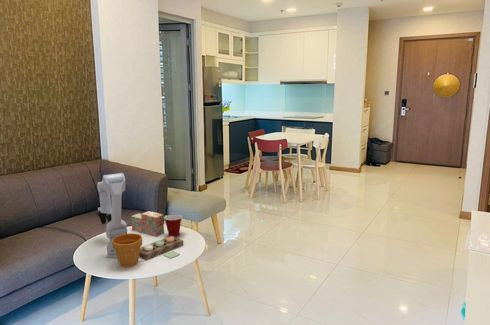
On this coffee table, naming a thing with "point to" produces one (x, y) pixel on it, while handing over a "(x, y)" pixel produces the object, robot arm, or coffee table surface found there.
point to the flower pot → (127, 248)
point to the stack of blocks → (148, 223)
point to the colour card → (171, 254)
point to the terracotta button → (170, 239)
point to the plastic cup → (173, 224)
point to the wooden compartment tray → (160, 248)
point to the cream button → (148, 248)
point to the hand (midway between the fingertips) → (107, 225)
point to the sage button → (159, 243)
